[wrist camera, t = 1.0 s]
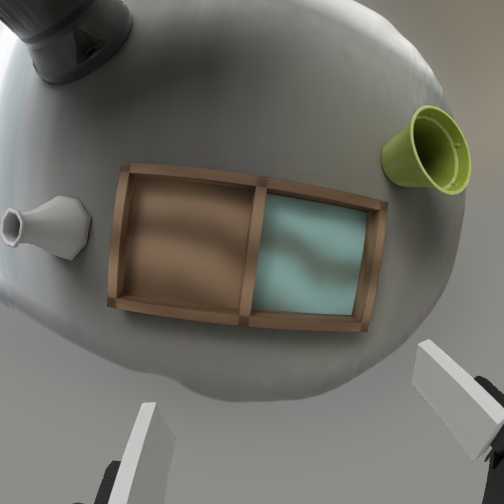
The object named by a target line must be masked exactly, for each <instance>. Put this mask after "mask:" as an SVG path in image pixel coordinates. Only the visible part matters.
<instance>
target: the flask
mask: <svg viewBox="0 0 504 504" xmlns="http://www.w3.org/2000/svg"><path fill="white" fill-rule="evenodd" d="M90 221H91V217H90V215H89V214H88V212H87V211H86V209H85V208H84V207H83V205H82V204H81V202H80V201H79V199H77V198H72V197H68V196H63V195H59V196H57V197H55V198H53V199H51V200H50V201H48V202H46V203H45V204H43V205H41V206H39V207H37V208H35V209H33V210H30V211H26V212H20V211H18V210H15V209H11V208H8V210H7V211H6V213H5V214H4V216H3V218H2V220H1V228H0V235H1V237H2V239H3V241H4V243H5V245H8V246H11V247H13V248H16V247H17V246H18V244H20V243H29V244H33V245H35V246H37V247H40V248H41V249H43V250H45V251H47V252H48V253H50V254H52V255H55V256H58V257H61V258H64V259H68V260H71V261H72V260H73V259H74V257H75V256H76V255H77V254H78V253H79V252H80V251H81V249H82V248H83V247H84V246H85V245H86V244H87V238H88V232H89V227H90Z"/></svg>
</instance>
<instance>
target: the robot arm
mask: <svg viewBox="0 0 504 504" xmlns="http://www.w3.org/2000/svg"><path fill="white" fill-rule="evenodd" d="M0 20H1V21H2V22H3V23H4V24H5V25H6V26H7V27H8V28H9V29H10V30H12V31H13V32H14V33H15V34H16V35H17V36H18V37H19V38H20V39H21V40H22V41H23V42H24V43H25V44H26V46H27V48H28V51H29V53H30V56H31V58H32V61H33V66H34V69H35V71H36V72H37V74H38V75H39V76H40V77H42V78H43V79H44V80H45V81H47V82H49V83H52V84H63V83H67V82H71V81H73V80H76V79H78V78H80V77H82V76H84V75H86V74H88V73H90V72H91V71H93V70H94V69H96V68H97V67H99V66H100V65H101V64H103V63H104V62H105V61H106V60H107V59H109V58H110V57H111V56H112V55H113V54H114V53H115V52H116V51H117V50H118V49H119V47H120V46H121V45H122V44H123V42H124V41H125V40H126V38H127V36H128V34H129V32H130V30H131V26H132V17H131V14H130V12H129V9H128V7H127V5H126V4H125V3H124V2H123V1H121V0H0ZM412 384H413V385H414V386H415V388H416V389H417V390H418V391H419V393H420V394H421V395H422V396H423V397H424V399H425V400H426V401H427V402H428V404H429V405H430V406H431V407H432V409H433V410H434V411H435V412H436V414H437V415H438V416H439V417H440V419H441V420H442V421H443V423H444V424H445V425H446V426H447V428H448V429H449V430H450V432H451V433H452V434H453V435H454V437H455V438H456V439H457V441H458V442H459V443H460V445H461V446H462V447H463V448H464V450H465V451H466V453H467V454H468V455H469V457H470V458H471V459H472V461H475V460H476V459H477V458H478V457H480V456H481V455H483V454H484V453H485V452H486V450H487V449H488V447H489V446H490V445H491V447H492V450H491V451H490V453H489V454H488V455H487V457H486V459H485V462H486V461H487V460H488V459H489V457H490V460H489V461H490V464H489V471H488V477H487V483H486V488H485V492H484V497H483V501H482V504H504V394H503V393H502V392H501V391H498V389H497V388H496V387H495V386H493V384H492V383H491V382H490V381H488V380H487V379H486V378H483V377H481V376H477V377H475V378H474V379H473V378H472V377H471V376H470V375H469V374H468V373H467V372H465V371H464V370H463V369H462V368H461V367H460V366H458V364H457V363H455V361H453V360H452V359H451V358H450V357H449V356H447V354H445V353H444V352H443V351H442V350H441V349H440V348H439V347H438V346H437V345H435V344H434V343H433V342H432V341H431V340H430V339H428V340H426V341H424V342H421V343H419V344H418V347H417V354H416V361H415V367H414V373H413V378H412ZM175 438H176V435H175V434H174V432H173V431H172V429H171V427H170V426H169V424H168V422H167V421H166V419H165V417H164V415H163V414H162V412H161V410H160V408H159V406H158V405H157V403H156V402H152V403H142V406H141V408H140V411H139V414H138V416H137V419H136V422H135V424H134V427H133V430H132V433H131V436H130V438H129V441H128V444H127V447H126V450H125V453H124V456H123V458H122V461H112V462H111V464H110V465H109V466H108V467H107V468H106V471H105V474H104V478H103V479H102V482H101V485H100V488H99V490H98V493H97V496H96V499H95V502H94V504H164V499H165V492H166V487H167V481H168V475H169V470H170V465H171V459H172V454H173V448H174V443H175ZM74 504H82V503H74Z"/></svg>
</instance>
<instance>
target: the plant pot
mask: <svg viewBox="0 0 504 504" xmlns="http://www.w3.org/2000/svg"><path fill="white" fill-rule="evenodd" d="M381 163H382V167H383V170H384V172H385V174H386V175H387V177H388V178H389V179H390V180H391V181H392V182H393V183H394V184H397V185H399V186H402V187H422V188H433V189H436V190H438V191H440V192H442V193H444V194H447V195H456V194H459V193H460V192H462V191H463V190H464V189H465V187H466V186H467V184H468V181H469V178H470V174H471V173H470V172H471V158H470V152H469V148H468V145H467V142H466V140H465V137H464V135H463V133H462V131H461V130H460V128H459V127H458V125H457V124H456V122H455V121H454V120H453V119H452V118H451V117H450V116H449V115H448V114H447V113H446V112H444V111H443V110H441V109H440V108H437V107H434V106H423V107H421V108H419V109H418V110H417V111H416V112H415V113H414V115H413V116H412V119H411V121H410V122H409V124H408V125H407V126H406V127H405V128H404V129H403V130H401V131H400V132H399V133H398V134H397V135H395V136H394V137H393V138H392V139H390V140H389V141H388V142H387V143H386V144H385V145H384V146H383V148H382V159H381Z"/></svg>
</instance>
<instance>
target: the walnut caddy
mask: <svg viewBox="0 0 504 504" xmlns="http://www.w3.org/2000/svg"><path fill="white" fill-rule="evenodd" d="M387 208H388V202H384V201H380V200H376V199H372V198H368V197H364V196H360V195H356V194H351V193H347V192H342V191H338V190H333V189H328V188H324V187H319V186H314V185H309V184H303V183H298V182H293V181H287V180H281V179H276V178H270V177H263V176H257V175H250V174H244V173H237V172H229V171H221V170H213V169H205V168H196V167H186V166H176V165H164V164H151V163H135V162H122V164H121V169H120V175H119V180H118V186H117V192H116V199H115V206H114V213H113V221H112V230H111V240H110V252H109V267H108V292H107V307H113V308H118V309H123V310H128V311H134V312H140V313H146V314H152V315H158V316H164V317H171V318H178V319H185V320H193V321H201V322H209V323H218V324H227V325H237V326H248V327H259V328H272V329H288V330H306V331H335V332H367V331H368V327H369V323H370V318H371V314H372V309H373V304H374V299H375V294H376V289H377V284H378V278H379V272H380V266H381V259H382V253H383V245H384V237H385V229H386V219H387Z"/></svg>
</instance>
